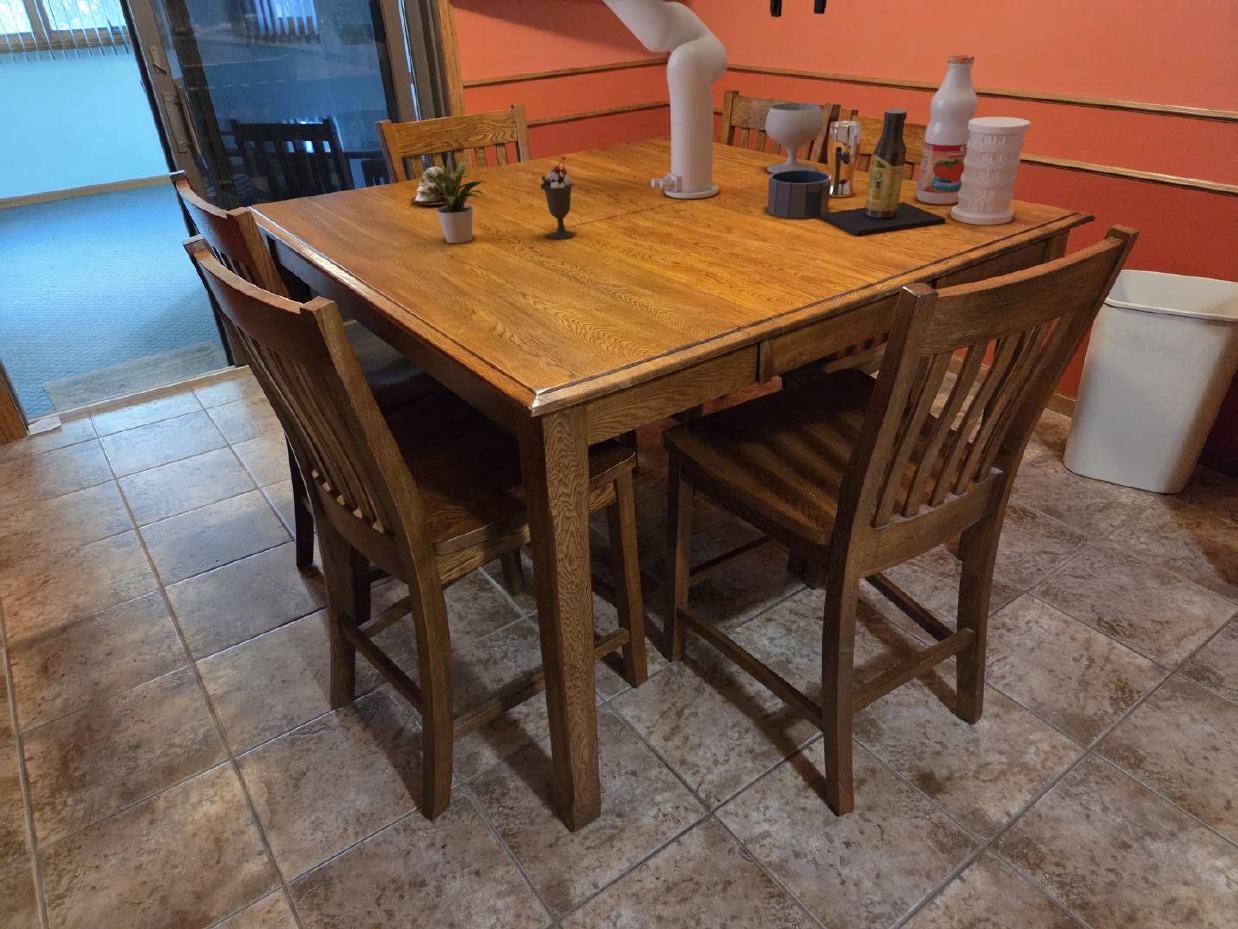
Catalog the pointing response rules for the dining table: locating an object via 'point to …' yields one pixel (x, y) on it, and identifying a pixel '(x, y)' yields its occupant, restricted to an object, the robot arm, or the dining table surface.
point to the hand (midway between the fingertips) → (797, 15)
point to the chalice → (793, 131)
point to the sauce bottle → (887, 167)
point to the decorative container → (990, 170)
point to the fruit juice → (947, 134)
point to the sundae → (558, 198)
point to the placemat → (881, 220)
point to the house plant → (454, 203)
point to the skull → (429, 189)
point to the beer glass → (843, 156)
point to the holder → (798, 194)
